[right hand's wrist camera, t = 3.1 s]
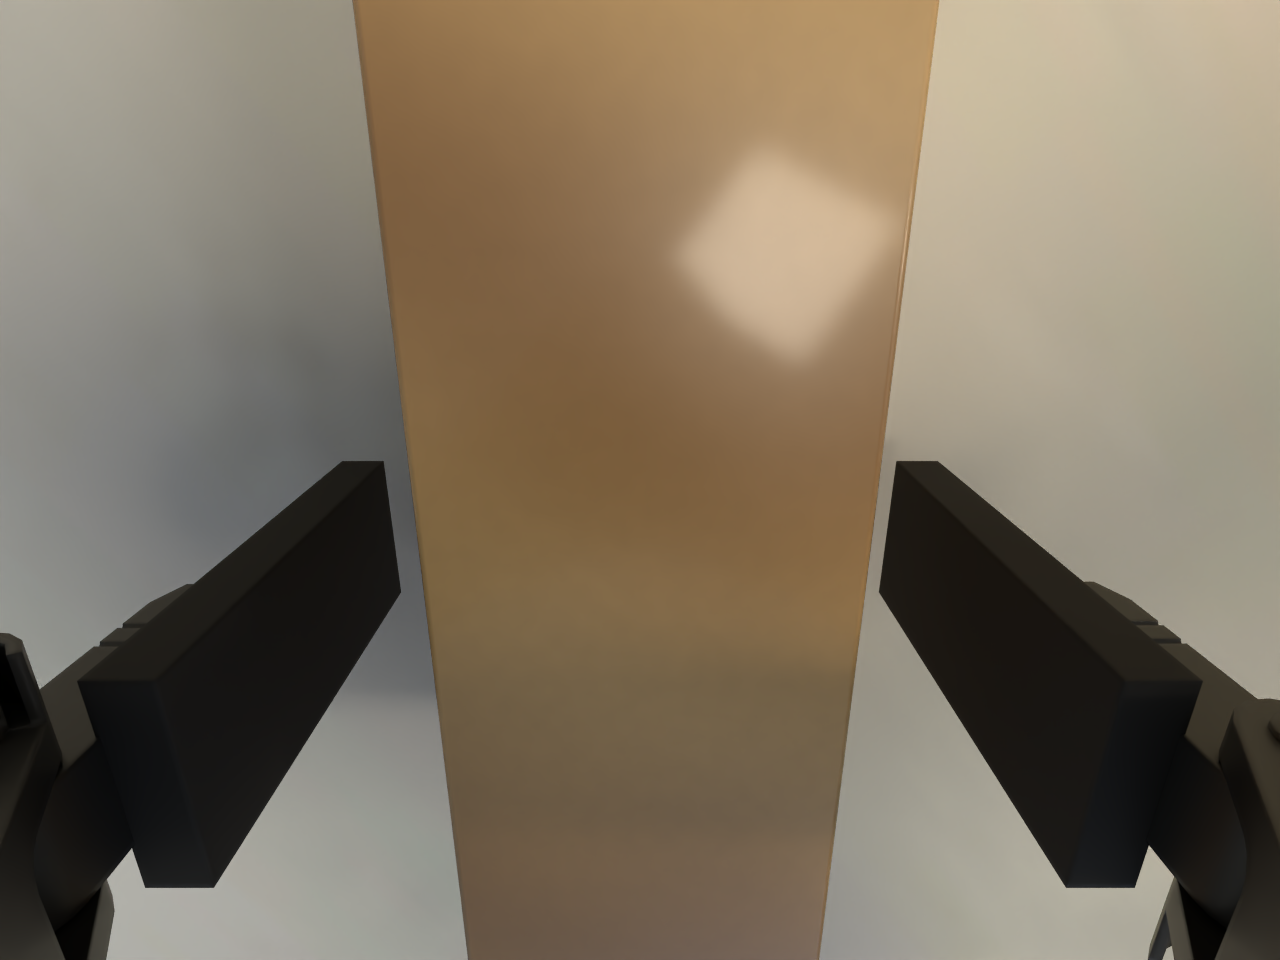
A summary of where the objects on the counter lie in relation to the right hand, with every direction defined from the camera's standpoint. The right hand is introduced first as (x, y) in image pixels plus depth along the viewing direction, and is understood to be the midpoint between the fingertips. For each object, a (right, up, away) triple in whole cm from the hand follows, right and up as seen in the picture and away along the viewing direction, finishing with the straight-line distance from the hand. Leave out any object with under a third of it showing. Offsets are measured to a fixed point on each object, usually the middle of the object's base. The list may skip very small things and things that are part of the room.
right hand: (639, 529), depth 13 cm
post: (0, +32, -10) cm, 34 cm away
